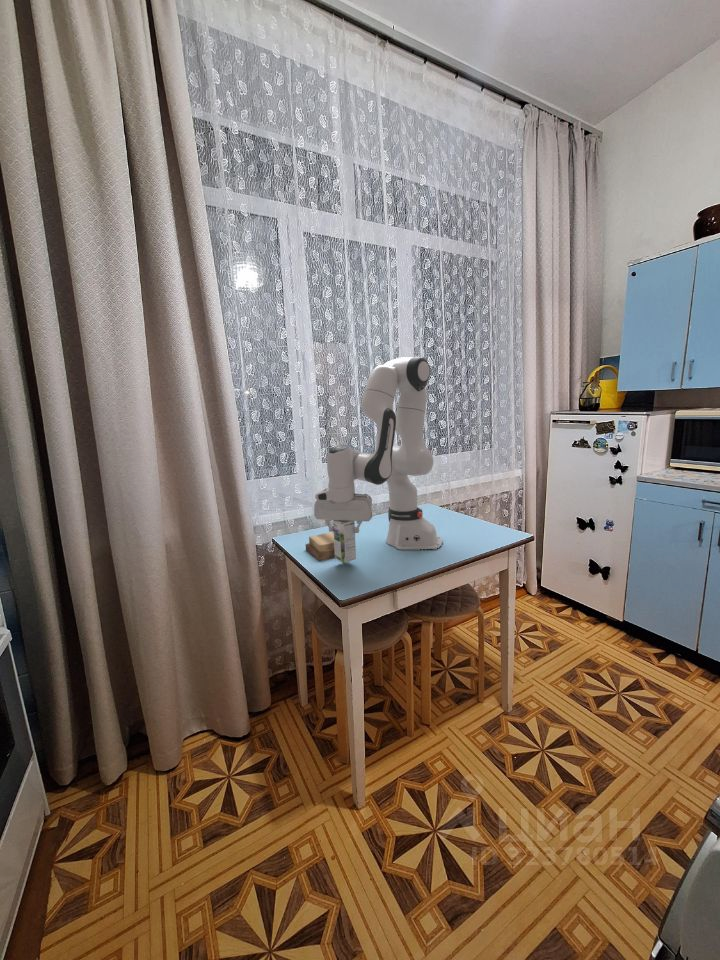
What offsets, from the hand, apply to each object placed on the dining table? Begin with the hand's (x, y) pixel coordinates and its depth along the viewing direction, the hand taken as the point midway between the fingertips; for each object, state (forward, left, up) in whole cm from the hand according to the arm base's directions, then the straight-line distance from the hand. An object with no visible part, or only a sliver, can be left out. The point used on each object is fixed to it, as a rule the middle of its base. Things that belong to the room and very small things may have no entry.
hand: (344, 531), depth 136 cm
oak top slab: (+10, -11, -10) cm, 18 cm away
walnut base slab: (+10, -11, -13) cm, 20 cm away
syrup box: (0, 0, -10) cm, 10 cm away
